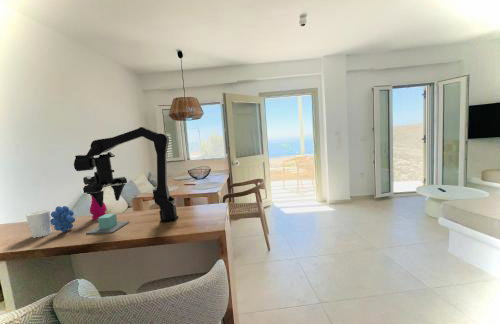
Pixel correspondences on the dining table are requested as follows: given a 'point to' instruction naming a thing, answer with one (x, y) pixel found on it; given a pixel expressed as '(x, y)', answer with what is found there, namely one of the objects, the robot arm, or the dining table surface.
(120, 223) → the gray mat
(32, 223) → the white cup
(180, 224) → the dining table surface
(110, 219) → the teal block
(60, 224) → the grapes
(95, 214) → the pepper mill
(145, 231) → the dining table surface
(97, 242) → the dining table surface
